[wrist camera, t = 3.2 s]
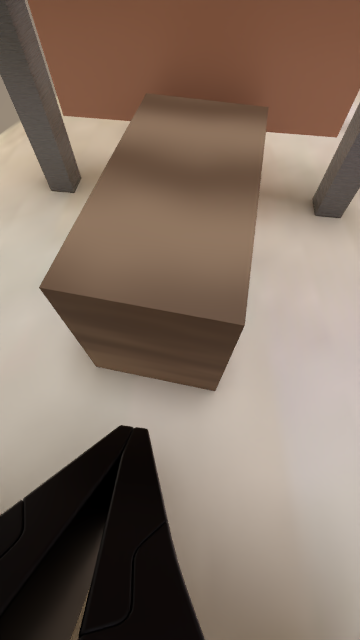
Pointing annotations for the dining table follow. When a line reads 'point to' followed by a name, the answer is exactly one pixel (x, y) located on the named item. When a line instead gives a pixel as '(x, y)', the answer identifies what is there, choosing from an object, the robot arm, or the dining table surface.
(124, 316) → the block
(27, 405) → the dining table surface
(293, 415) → the dining table surface
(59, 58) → the flap door
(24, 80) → the gate frame
